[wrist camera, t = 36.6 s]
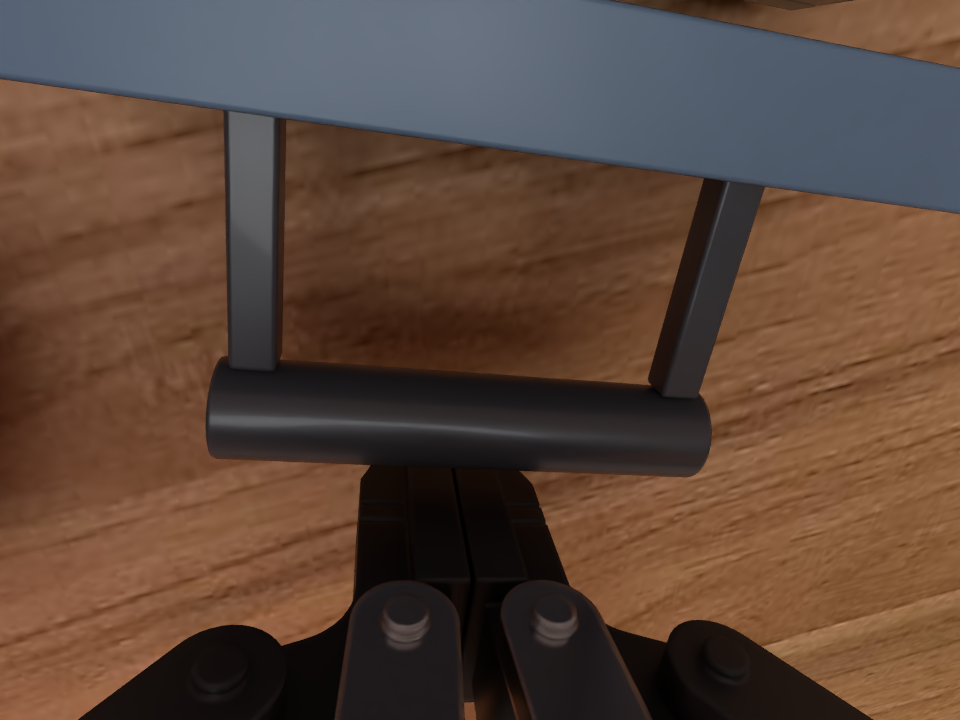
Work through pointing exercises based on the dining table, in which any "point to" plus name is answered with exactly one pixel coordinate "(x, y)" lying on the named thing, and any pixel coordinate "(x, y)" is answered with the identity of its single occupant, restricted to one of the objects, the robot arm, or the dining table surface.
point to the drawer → (515, 127)
